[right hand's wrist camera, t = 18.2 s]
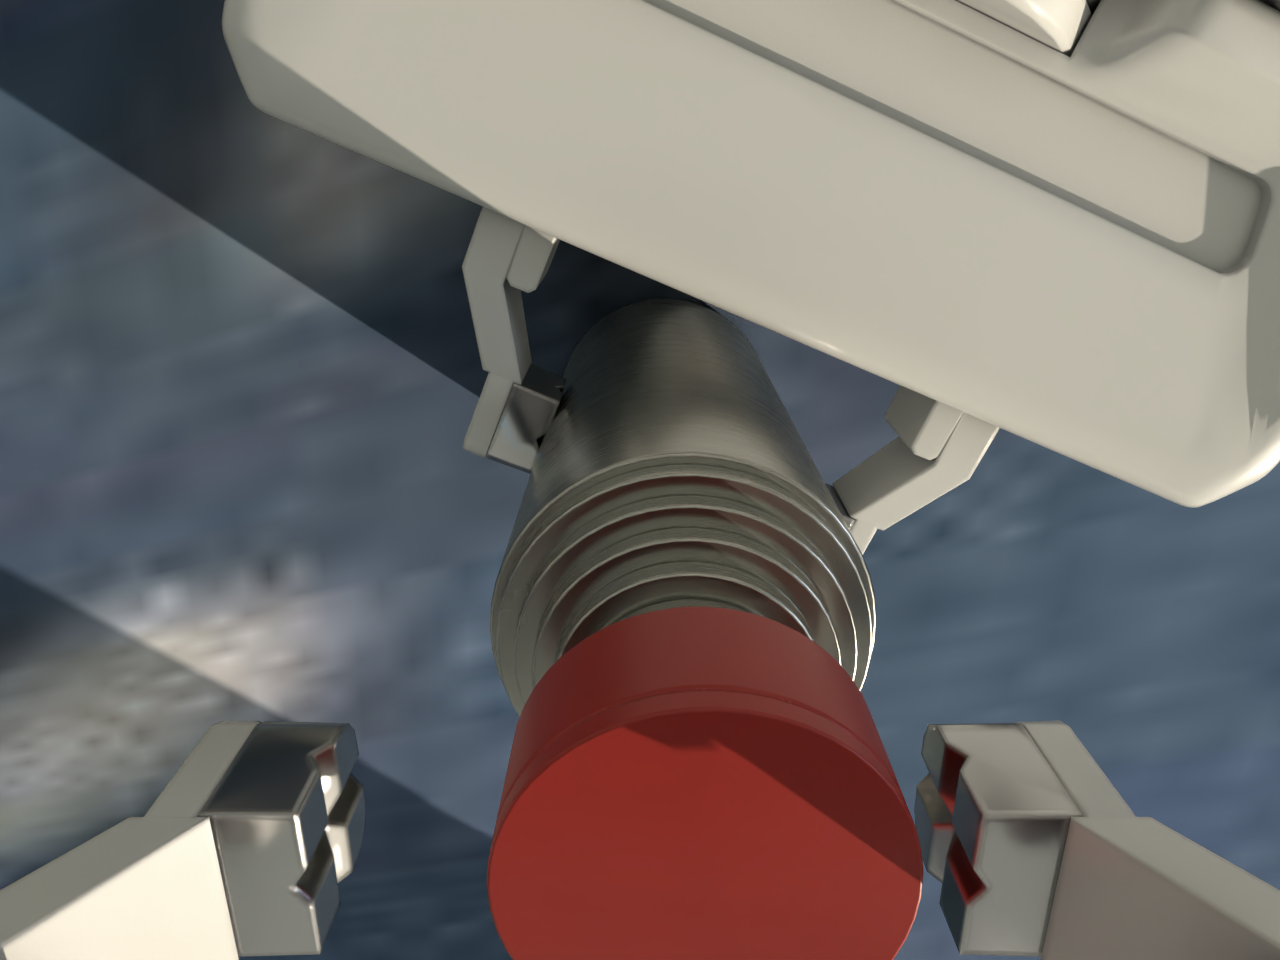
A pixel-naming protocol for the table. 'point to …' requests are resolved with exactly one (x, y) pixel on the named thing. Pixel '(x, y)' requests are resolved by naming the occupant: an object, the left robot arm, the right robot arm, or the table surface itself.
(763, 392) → the bottle
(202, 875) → the right robot arm
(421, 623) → the table surface
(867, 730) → the cap
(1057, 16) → the left robot arm
